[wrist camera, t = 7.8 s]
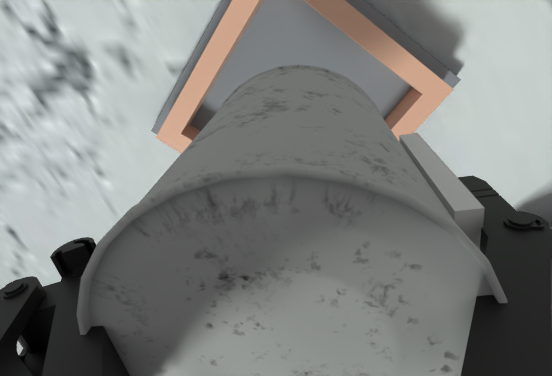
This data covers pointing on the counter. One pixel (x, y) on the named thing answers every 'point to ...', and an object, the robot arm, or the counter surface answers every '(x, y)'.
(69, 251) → the robot arm
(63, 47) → the counter surface
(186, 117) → the docking cradle
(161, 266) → the grey stone cylinder
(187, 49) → the counter surface
